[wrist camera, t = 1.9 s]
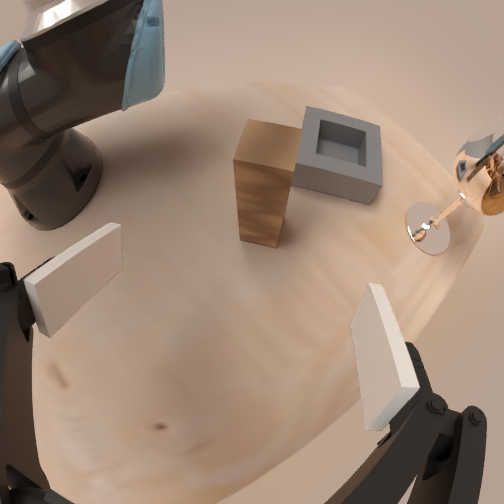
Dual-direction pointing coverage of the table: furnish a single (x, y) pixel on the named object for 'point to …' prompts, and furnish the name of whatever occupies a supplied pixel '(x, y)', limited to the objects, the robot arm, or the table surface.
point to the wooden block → (264, 179)
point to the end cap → (339, 156)
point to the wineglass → (465, 188)
